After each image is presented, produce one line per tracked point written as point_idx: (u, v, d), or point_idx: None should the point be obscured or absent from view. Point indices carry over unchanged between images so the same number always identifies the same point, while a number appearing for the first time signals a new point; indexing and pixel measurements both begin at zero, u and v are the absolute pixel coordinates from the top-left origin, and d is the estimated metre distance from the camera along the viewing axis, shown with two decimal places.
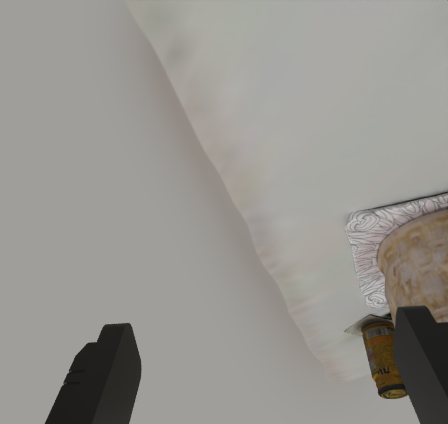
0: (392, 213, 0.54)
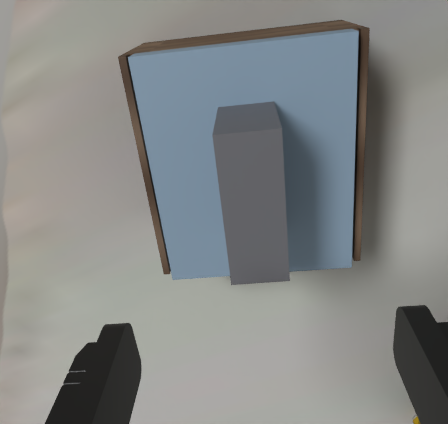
0: None
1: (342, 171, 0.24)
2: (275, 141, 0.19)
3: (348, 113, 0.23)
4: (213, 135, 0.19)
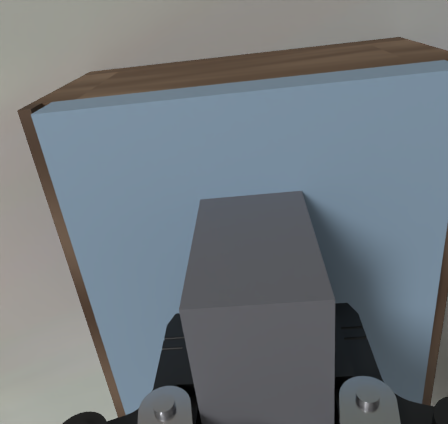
0: None
1: (415, 300, 0.14)
2: (319, 322, 0.08)
3: (435, 211, 0.13)
4: (181, 309, 0.08)
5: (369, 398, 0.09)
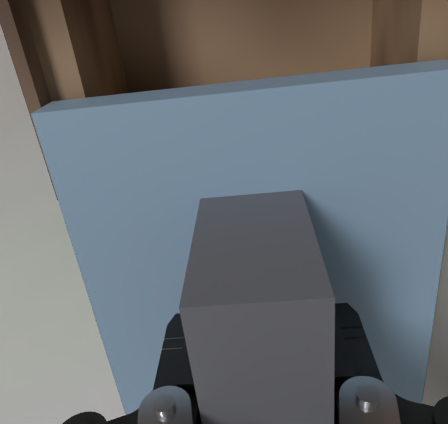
0: None
1: (415, 299, 0.14)
2: (319, 320, 0.08)
3: (435, 210, 0.13)
4: (181, 308, 0.08)
5: (369, 398, 0.09)
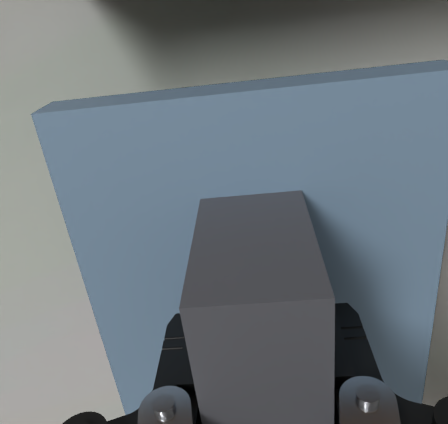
0: None
1: (415, 300, 0.14)
2: (319, 321, 0.08)
3: (435, 210, 0.13)
4: (181, 308, 0.08)
5: (369, 398, 0.09)
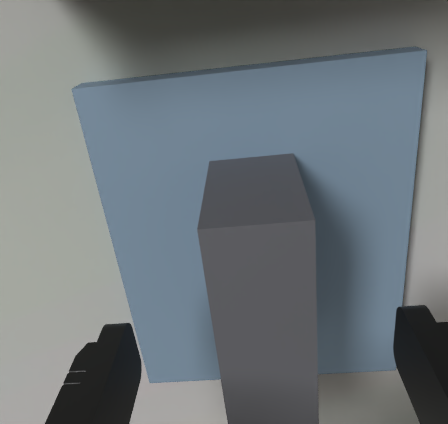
0: None
1: (390, 249, 0.17)
2: (303, 239, 0.11)
3: (403, 170, 0.15)
4: (199, 229, 0.11)
5: None
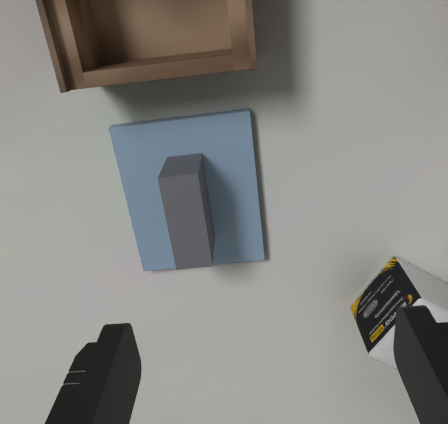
0: None
1: (250, 195, 0.38)
2: (194, 180, 0.32)
3: (249, 159, 0.36)
4: (158, 178, 0.32)
5: None
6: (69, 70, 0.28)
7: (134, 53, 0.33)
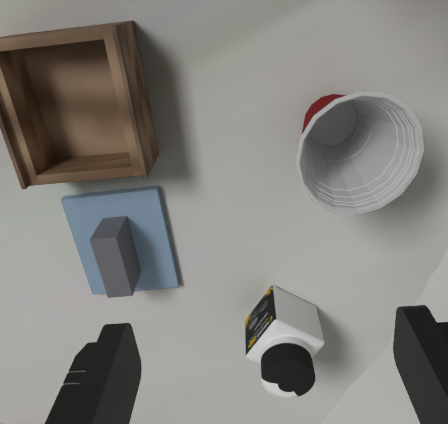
0: None
1: (163, 244, 0.53)
2: (114, 241, 0.47)
3: (160, 220, 0.51)
4: (90, 239, 0.47)
5: None
6: (27, 174, 0.44)
7: (75, 152, 0.48)
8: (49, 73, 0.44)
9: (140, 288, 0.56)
